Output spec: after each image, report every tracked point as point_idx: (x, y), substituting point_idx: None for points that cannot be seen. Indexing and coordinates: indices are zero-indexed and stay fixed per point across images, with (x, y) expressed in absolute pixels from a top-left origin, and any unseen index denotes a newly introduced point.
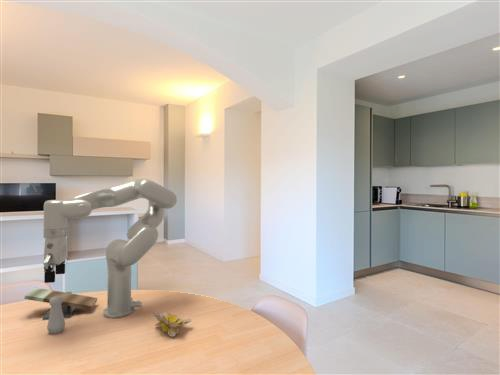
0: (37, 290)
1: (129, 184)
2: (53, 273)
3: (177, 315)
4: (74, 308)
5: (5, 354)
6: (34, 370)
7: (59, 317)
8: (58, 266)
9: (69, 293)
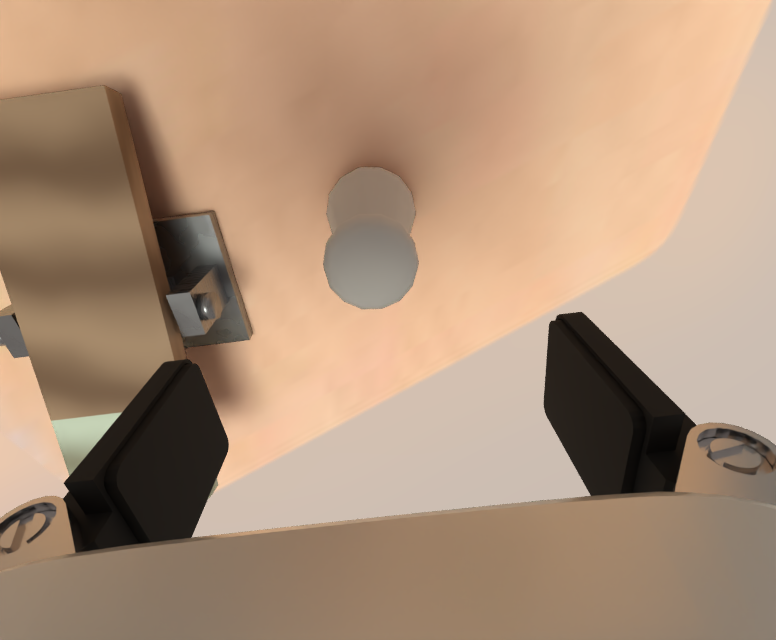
0: None
1: None
2: (656, 400)
3: None
4: None
5: (543, 311)
6: (721, 118)
7: (395, 195)
8: (173, 514)
9: (20, 316)
